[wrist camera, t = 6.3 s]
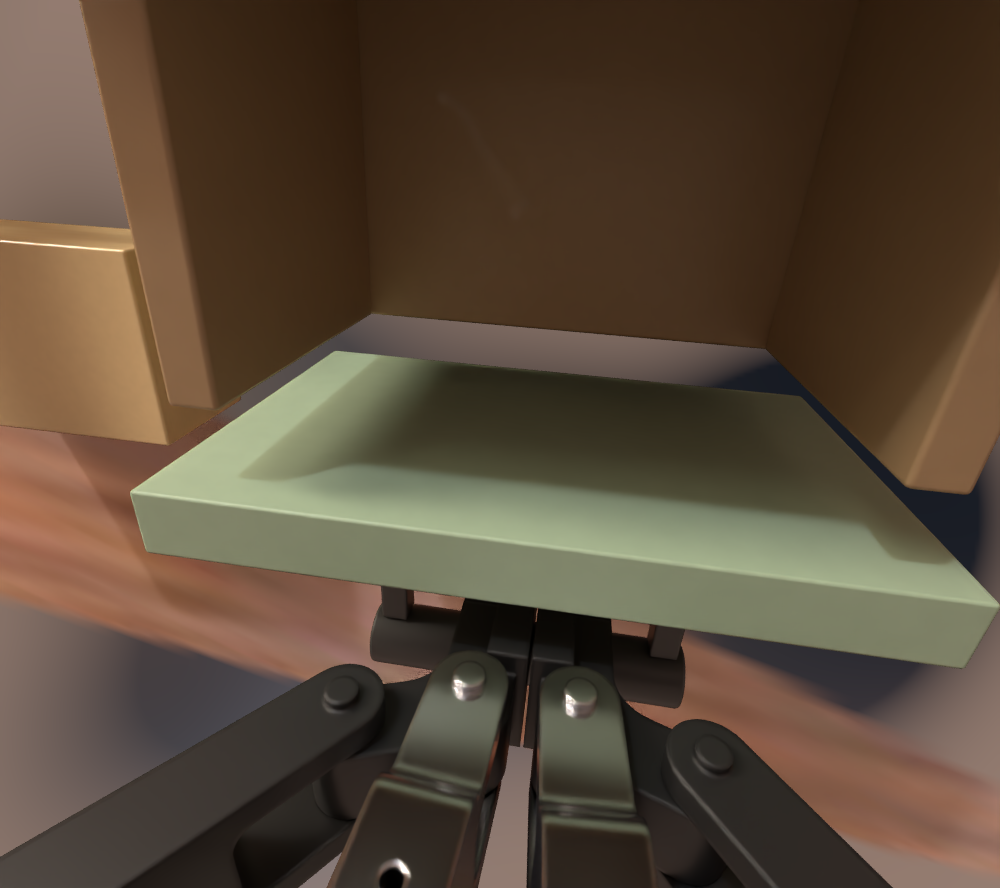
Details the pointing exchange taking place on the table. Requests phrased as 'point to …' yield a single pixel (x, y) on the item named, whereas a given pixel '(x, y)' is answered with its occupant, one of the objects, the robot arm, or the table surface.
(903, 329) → the drawer
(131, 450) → the table surface
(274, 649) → the table surface
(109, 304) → the tan rectangular block
